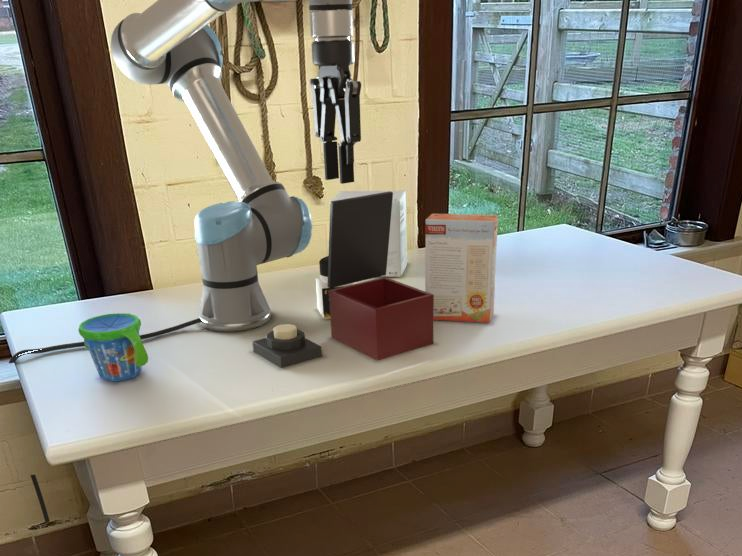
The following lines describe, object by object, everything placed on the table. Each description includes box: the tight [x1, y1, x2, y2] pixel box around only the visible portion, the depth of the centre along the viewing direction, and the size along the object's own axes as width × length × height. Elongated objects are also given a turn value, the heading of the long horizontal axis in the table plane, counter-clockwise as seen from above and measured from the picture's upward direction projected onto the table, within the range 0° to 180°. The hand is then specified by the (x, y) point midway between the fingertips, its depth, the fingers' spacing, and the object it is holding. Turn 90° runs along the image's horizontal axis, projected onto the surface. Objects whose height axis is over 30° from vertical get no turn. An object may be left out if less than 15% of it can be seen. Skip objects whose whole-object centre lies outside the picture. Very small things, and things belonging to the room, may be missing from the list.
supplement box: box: [329, 189, 408, 278], centre depth 196 cm, size 17×13×18 cm
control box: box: [251, 328, 323, 369], centre depth 152 cm, size 11×9×4 cm
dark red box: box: [329, 276, 435, 361], centre depth 156 cm, size 16×14×10 cm
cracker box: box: [424, 213, 499, 324], centre depth 163 cm, size 14×6×21 cm, turn 74°
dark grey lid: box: [328, 190, 393, 288], centre depth 153 cm, size 17×14×1 cm
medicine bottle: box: [315, 255, 355, 320], centre depth 170 cm, size 7×7×12 cm
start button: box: [272, 323, 298, 340], centre depth 151 cm, size 4×4×2 cm
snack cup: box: [78, 312, 149, 383], centre depth 144 cm, size 16×10×10 cm
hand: (339, 180), depth 151 cm, fingers open, 4 cm apart
